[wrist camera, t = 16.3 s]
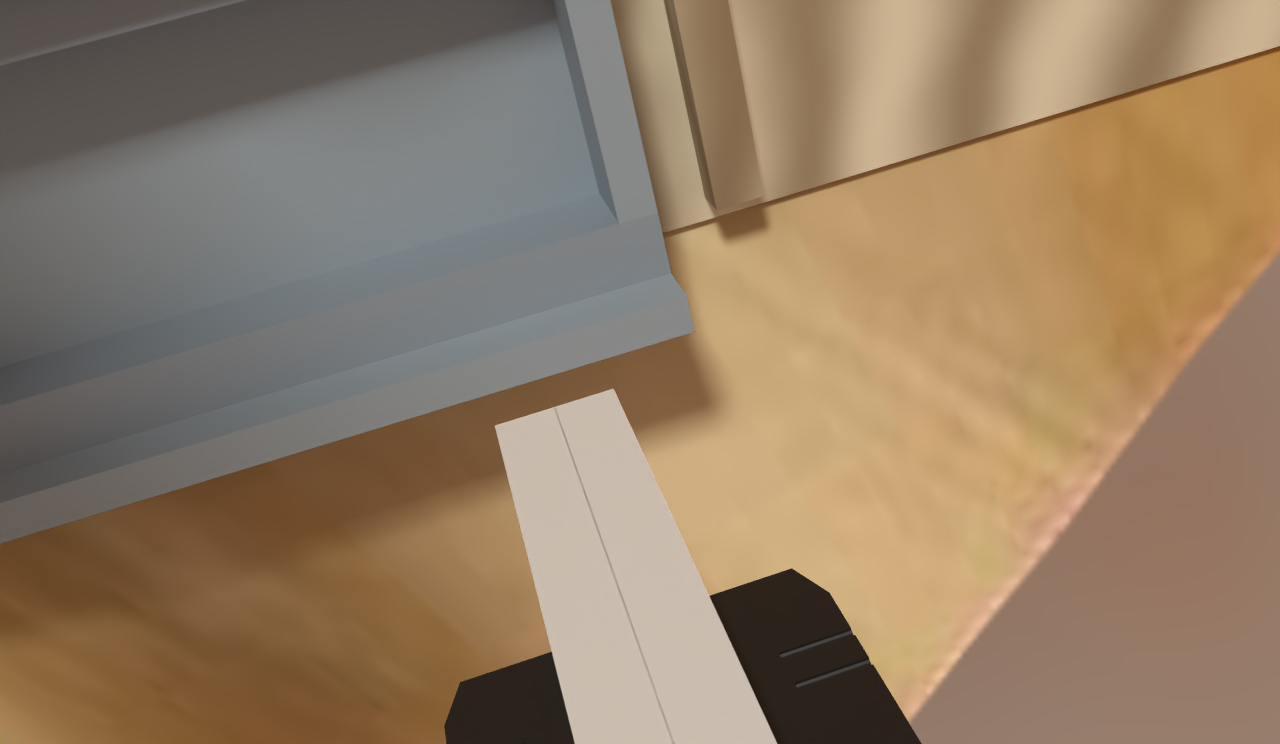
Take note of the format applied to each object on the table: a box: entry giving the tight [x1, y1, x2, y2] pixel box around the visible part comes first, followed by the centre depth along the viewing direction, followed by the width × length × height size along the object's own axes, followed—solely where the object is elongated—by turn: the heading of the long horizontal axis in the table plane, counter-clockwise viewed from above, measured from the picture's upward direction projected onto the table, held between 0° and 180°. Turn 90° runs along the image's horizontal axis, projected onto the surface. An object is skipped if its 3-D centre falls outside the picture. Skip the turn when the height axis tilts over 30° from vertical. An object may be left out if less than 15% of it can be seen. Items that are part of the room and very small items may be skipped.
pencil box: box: [0, 0, 695, 544], centre depth 32 cm, size 26×15×6 cm, turn 103°
